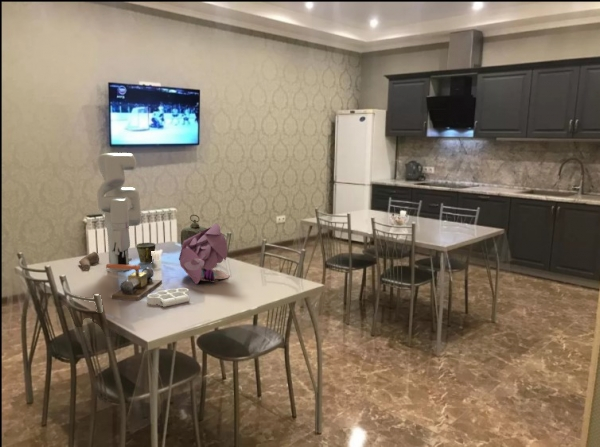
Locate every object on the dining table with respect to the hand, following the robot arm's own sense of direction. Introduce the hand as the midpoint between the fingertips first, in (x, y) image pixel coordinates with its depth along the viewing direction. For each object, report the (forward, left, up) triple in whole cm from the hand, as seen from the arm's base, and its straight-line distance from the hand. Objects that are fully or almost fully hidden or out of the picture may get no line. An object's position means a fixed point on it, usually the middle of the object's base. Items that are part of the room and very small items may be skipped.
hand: (122, 265), depth 225 cm
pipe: (-28, -33, -10) cm, 44 cm away
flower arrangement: (-20, +34, -10) cm, 41 cm away
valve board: (+6, +10, -10) cm, 15 cm away
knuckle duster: (+16, +29, -10) cm, 34 cm away
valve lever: (+6, +4, 0) cm, 7 cm away
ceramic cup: (-38, -6, -10) cm, 40 cm away
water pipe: (+6, +10, -8) cm, 14 cm away
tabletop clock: (-52, +16, -10) cm, 55 cm away
